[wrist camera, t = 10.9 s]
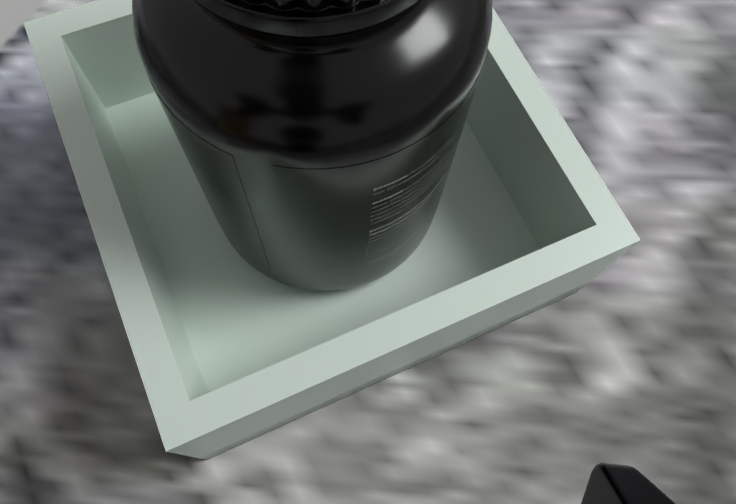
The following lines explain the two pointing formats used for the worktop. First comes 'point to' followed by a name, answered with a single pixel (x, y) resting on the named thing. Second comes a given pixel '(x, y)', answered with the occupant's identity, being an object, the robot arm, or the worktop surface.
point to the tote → (299, 306)
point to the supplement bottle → (317, 121)
